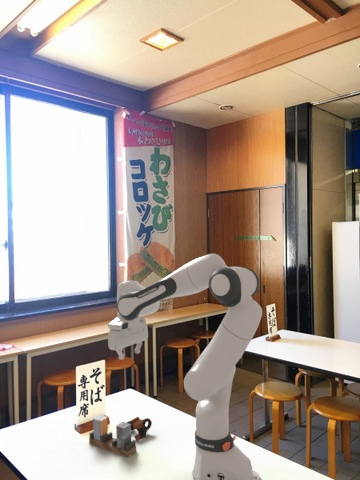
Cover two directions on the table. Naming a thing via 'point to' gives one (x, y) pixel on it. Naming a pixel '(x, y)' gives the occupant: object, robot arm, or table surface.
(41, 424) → the table surface
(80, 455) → the table surface
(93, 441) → the rail
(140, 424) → the pottery mug
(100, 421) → the multicoloured piece
